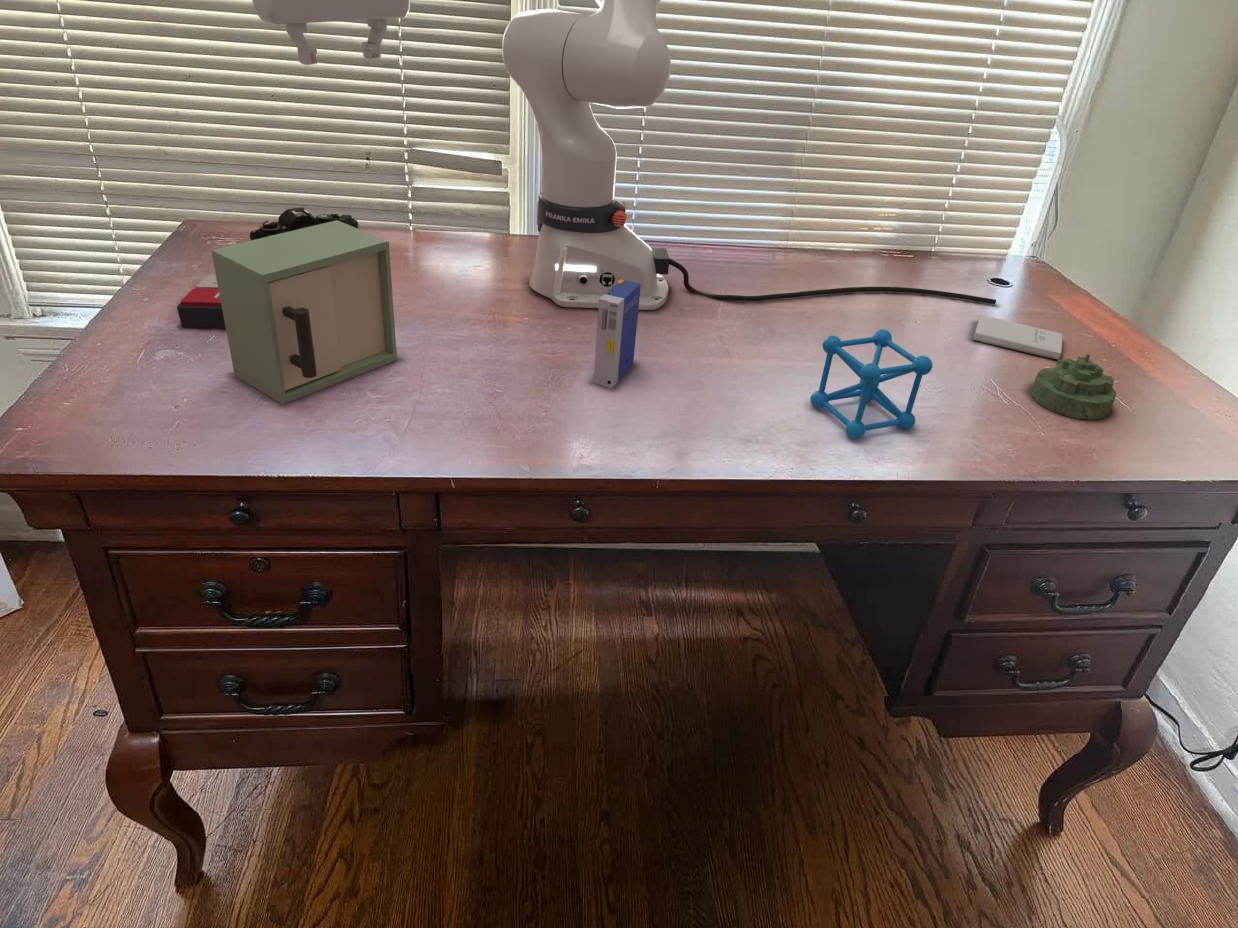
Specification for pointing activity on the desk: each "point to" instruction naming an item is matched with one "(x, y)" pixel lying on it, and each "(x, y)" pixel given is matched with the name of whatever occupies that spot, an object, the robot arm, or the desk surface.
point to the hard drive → (1018, 337)
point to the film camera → (298, 222)
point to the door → (305, 326)
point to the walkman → (616, 332)
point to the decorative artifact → (1075, 389)
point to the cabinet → (355, 294)
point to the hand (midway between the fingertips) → (341, 61)
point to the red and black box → (202, 305)
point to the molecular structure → (870, 382)
